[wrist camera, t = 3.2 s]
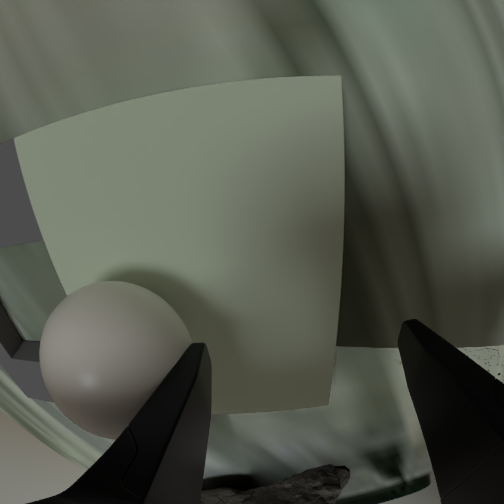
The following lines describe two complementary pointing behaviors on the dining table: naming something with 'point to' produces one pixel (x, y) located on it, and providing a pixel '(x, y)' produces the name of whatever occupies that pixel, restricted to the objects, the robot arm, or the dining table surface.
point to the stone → (288, 489)
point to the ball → (109, 353)
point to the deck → (198, 225)
